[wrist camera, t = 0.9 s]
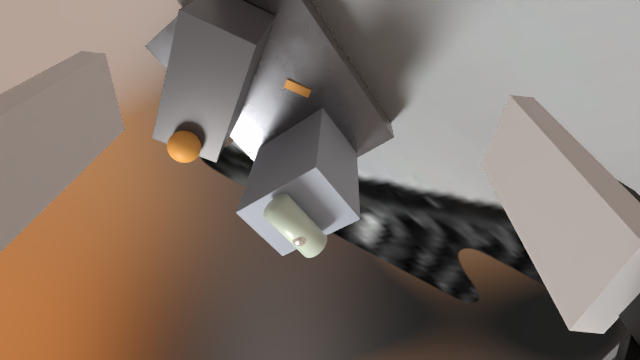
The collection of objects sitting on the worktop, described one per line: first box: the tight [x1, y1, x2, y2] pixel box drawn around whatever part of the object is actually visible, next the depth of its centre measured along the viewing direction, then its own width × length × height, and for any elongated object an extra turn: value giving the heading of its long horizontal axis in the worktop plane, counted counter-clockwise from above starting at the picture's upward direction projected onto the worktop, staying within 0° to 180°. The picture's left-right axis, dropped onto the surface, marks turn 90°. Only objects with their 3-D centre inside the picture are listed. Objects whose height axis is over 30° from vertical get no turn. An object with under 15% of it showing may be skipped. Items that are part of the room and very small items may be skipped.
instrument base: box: [145, 0, 394, 258], centre depth 31 cm, size 20×14×16 cm
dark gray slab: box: [153, 0, 275, 163], centre depth 29 cm, size 10×5×10 cm, turn 156°
